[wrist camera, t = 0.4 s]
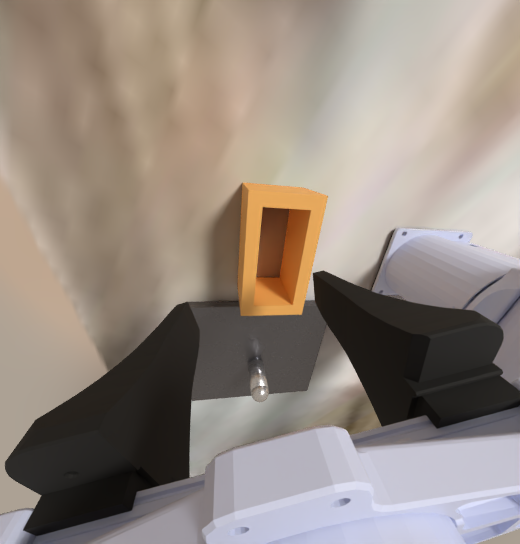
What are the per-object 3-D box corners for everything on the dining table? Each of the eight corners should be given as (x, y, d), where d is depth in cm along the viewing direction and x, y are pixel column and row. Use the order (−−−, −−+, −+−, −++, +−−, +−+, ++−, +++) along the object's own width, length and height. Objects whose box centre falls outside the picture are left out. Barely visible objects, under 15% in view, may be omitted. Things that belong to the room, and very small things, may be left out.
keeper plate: (328, 300, 25) (352, 333, 20) (304, 384, 32) (319, 424, 27) (185, 302, 22) (175, 340, 18) (192, 393, 29) (186, 439, 24)
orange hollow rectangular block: (303, 187, 19) (328, 196, 15) (287, 285, 23) (301, 314, 19) (242, 182, 18) (248, 189, 14) (237, 285, 22) (240, 315, 18)
